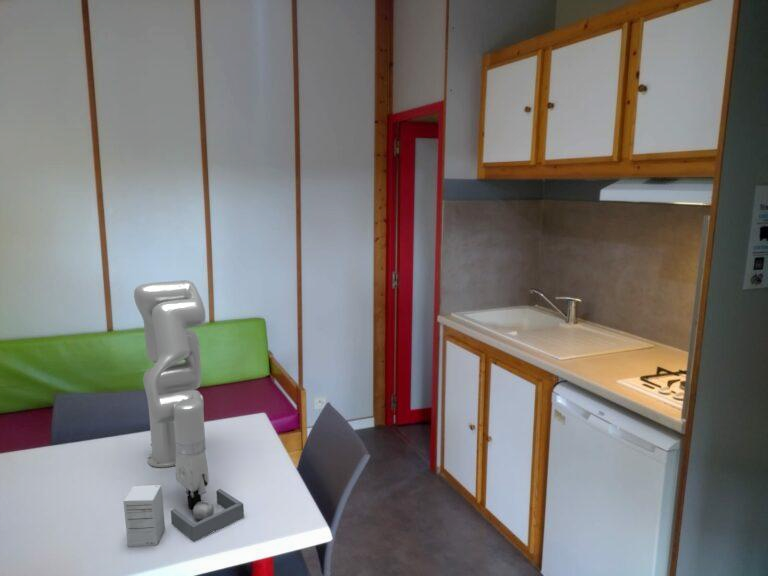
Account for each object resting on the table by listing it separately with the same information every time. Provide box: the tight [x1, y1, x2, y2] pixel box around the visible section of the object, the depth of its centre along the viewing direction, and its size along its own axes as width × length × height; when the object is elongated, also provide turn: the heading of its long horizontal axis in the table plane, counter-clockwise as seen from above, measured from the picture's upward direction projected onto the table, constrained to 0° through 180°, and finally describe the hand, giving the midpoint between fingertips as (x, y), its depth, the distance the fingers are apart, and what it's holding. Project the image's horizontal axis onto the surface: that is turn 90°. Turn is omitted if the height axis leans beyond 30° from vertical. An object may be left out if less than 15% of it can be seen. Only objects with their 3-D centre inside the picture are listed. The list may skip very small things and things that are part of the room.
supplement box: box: [123, 484, 166, 547], centre depth 147 cm, size 7×7×13 cm
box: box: [170, 488, 245, 542], centre depth 155 cm, size 11×15×4 cm
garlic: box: [192, 500, 215, 521], centre depth 156 cm, size 6×5×5 cm
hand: (194, 507), depth 160 cm, fingers closed
